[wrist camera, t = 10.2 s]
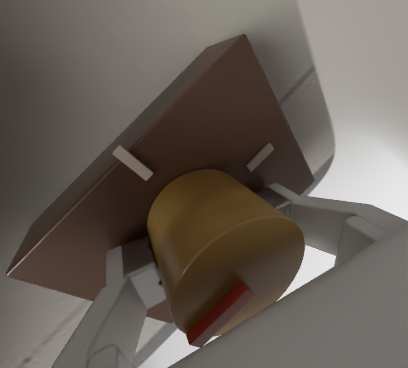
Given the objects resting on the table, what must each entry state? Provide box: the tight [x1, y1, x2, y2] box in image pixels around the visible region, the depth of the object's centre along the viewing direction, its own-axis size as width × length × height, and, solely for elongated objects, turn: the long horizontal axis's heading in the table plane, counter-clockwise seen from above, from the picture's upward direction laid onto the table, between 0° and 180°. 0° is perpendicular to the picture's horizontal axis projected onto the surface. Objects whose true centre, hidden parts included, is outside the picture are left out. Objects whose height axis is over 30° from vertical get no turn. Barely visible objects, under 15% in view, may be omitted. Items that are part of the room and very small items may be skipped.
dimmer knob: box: [147, 169, 305, 348], centre depth 7 cm, size 4×4×4 cm
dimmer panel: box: [6, 34, 315, 324], centre depth 10 cm, size 11×9×3 cm
